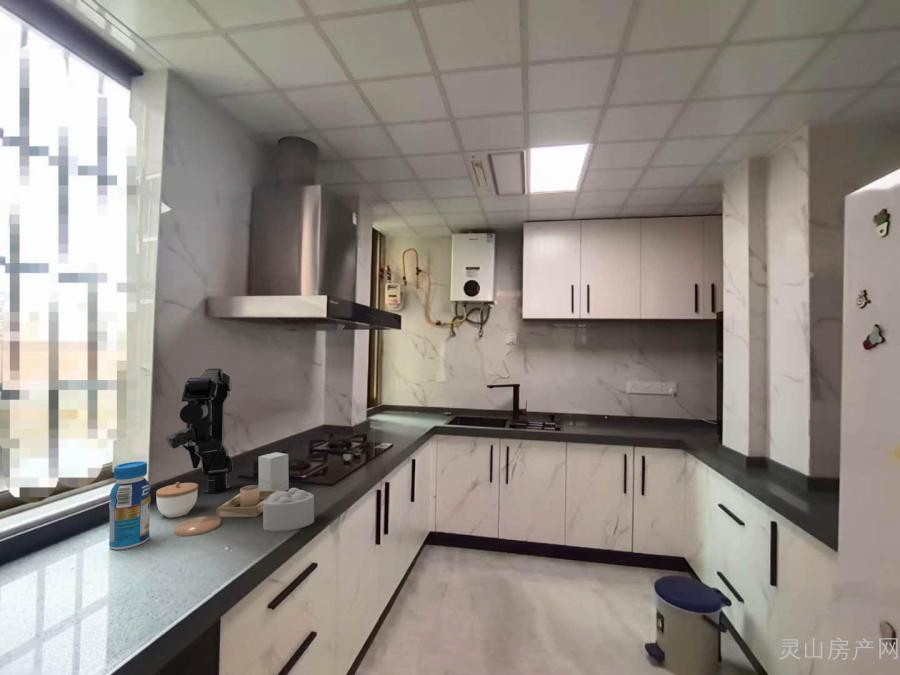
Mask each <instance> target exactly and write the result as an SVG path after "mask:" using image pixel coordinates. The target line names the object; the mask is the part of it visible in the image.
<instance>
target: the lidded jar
mask: <svg viewBox="0 0 900 675" xmlns="http://www.w3.org/2000/svg"><path fill="white" fill-rule="evenodd" d="M198 490H199V484H198V483H195V482H182V483H180V481H177V482H175V483H174V484H169V485H166V486H163V487H161V488H159V489H157V490H156V492H155V496H156V499H155V500H156V506H157V509H158V510H159V512H160V513H161V514H162V515H163V516H165V518H171V519H173V518H178V517H182V516H185V515H187V514H189V513H190V511H191V510H192V509H193V508H194V506H195V505H196V502H197V499H198V493H199V492H198Z"/></svg>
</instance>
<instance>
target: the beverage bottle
mask: <svg viewBox="0 0 900 675" xmlns="http://www.w3.org/2000/svg"><path fill="white" fill-rule="evenodd" d="M147 474H148V463H147V462H146V461H143V460H141V461H129V462H124V463H121V464H117V465H115V466H114V469H113V479H114V480H115V481H116V482H115V483H114V485H112V486H113V487H112V488H111V489H110V493H109V497H110V498H111V499H110V501H109V503H108V509H109V537H108V538H109V540H108V546H109V549H111V550H115V551H117V550H127V549H131V548H135V547H138V546H140V545H142V544H144V543H146V542H147V541H148V540H149V539H150V518H151V514H150V512H151V511H150V510H151V499H152V497H151V494H150V491H151V485H150V483H149V481H148V480H147V479H146V478H145V476H147Z"/></svg>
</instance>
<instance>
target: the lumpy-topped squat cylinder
mask: <svg viewBox="0 0 900 675" xmlns="http://www.w3.org/2000/svg"><path fill="white" fill-rule="evenodd" d="M262 515H263V516H262V519H263V521H262V529H263V530H265V531H267V530H269V531H270V532H273V531H274V532H279V531H281V532H282V531H292V530H297V529H298V530H299V529H301V528H305V527H308V526H310V525H311V524H313V523H314V522H315V496H314V494H313V493H311V492H308V491H306V490H304V489H299V488H297V487H290V488H289V489H288V490H286V491H277V492H275V493H274V494H273V495H271V496H270V497H269V498H268V499H267V500H265V501H264V502H263V512H262Z"/></svg>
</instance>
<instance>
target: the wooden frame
mask: <svg viewBox="0 0 900 675" xmlns="http://www.w3.org/2000/svg"><path fill="white" fill-rule="evenodd" d="M277 491H279V490H261V491H259V500H262V501H259V504H258V505H257V506H255V507H240V506H238V505H240V493H238V494H237V495H235V496H233V497H232V498H230V499H229V500H227V501H226V502H224V503H223V504H221V505H220V506H218V507H217V508H216V511H215V516H217V517H219V518H245V517H247V518H249V517H250V518H252V517H253V518H254V517H255V518H256V517H258V516H260V514H263V502H264V501H265V500H267V499H268V498H269V497H270V496H271V495H273V494H274V493H275V492H277Z"/></svg>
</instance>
